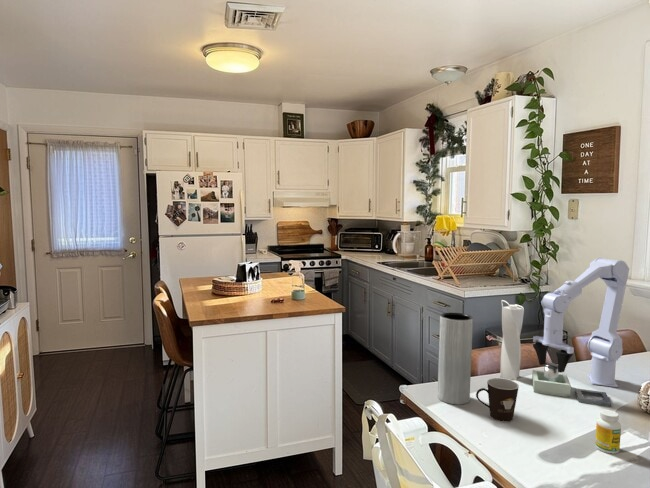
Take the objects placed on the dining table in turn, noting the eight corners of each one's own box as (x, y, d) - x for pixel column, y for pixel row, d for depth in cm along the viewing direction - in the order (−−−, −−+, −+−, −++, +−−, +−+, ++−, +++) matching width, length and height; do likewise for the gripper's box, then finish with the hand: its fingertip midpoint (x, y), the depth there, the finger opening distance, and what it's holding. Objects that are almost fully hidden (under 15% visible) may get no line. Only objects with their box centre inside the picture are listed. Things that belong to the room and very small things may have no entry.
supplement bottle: (601, 441, 122) (603, 406, 121) (623, 450, 118) (625, 414, 117) (591, 447, 119) (593, 411, 118) (613, 456, 115) (615, 419, 114)
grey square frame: (574, 391, 155) (574, 388, 155) (605, 395, 152) (605, 392, 152) (578, 402, 147) (579, 398, 147) (611, 406, 144) (611, 403, 143)
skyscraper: (495, 377, 167) (498, 301, 165) (499, 371, 174) (503, 297, 171) (518, 381, 163) (522, 304, 161) (522, 375, 170) (526, 300, 167)
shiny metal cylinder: (540, 384, 159) (541, 363, 158) (550, 382, 160) (551, 362, 160) (550, 389, 155) (551, 367, 154) (560, 387, 156) (561, 366, 155)
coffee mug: (516, 412, 139) (517, 380, 138) (518, 425, 131) (519, 391, 130) (475, 406, 142) (476, 375, 142) (475, 418, 134) (476, 385, 134)
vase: (471, 395, 151) (474, 314, 149) (467, 407, 142) (470, 321, 140) (440, 390, 155) (443, 311, 153) (434, 401, 146) (437, 317, 144)
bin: (532, 380, 164) (532, 370, 164) (565, 385, 160) (566, 374, 160) (533, 392, 154) (534, 380, 154) (570, 397, 150) (570, 385, 150)
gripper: (527, 325, 161) (525, 362, 162) (563, 335, 147) (561, 377, 149) (542, 323, 163) (540, 360, 165) (579, 333, 150) (576, 374, 151)
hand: (551, 368), depth 157 cm, fingers open, 7 cm apart
